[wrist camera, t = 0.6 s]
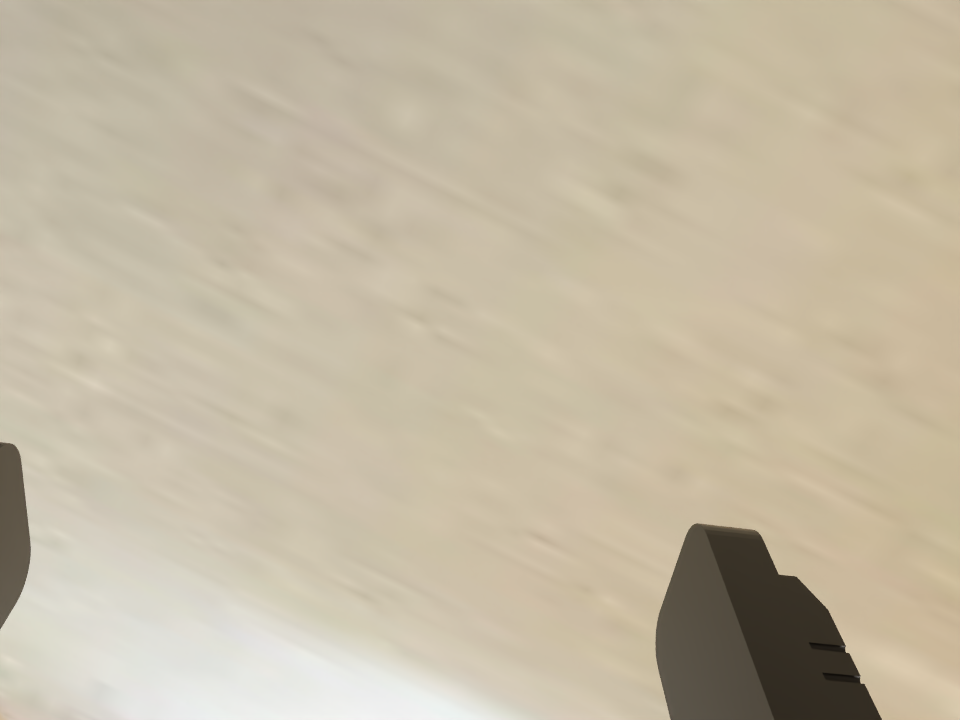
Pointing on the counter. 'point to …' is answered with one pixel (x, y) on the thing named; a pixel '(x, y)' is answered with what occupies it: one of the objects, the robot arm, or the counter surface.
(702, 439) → the counter surface
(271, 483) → the counter surface
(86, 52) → the counter surface
